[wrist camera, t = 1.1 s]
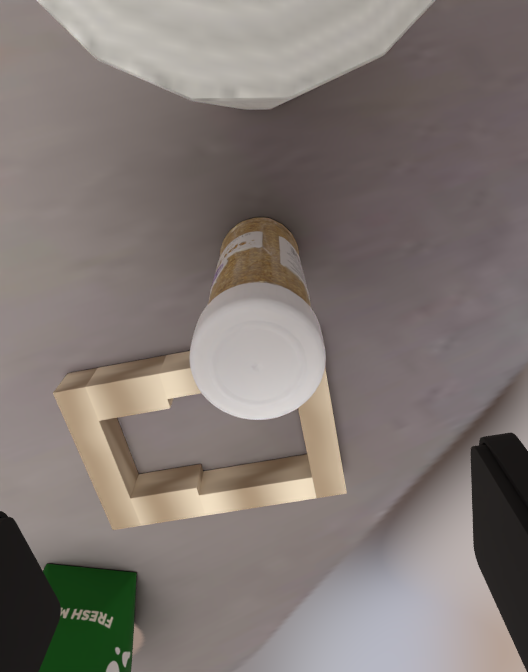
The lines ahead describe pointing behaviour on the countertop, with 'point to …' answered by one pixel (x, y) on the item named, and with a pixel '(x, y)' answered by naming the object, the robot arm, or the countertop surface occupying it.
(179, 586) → the countertop surface
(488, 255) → the countertop surface
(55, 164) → the countertop surface
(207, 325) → the sprinkles bottle
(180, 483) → the wooden frame
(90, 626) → the milk carton
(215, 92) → the paper towel roll
